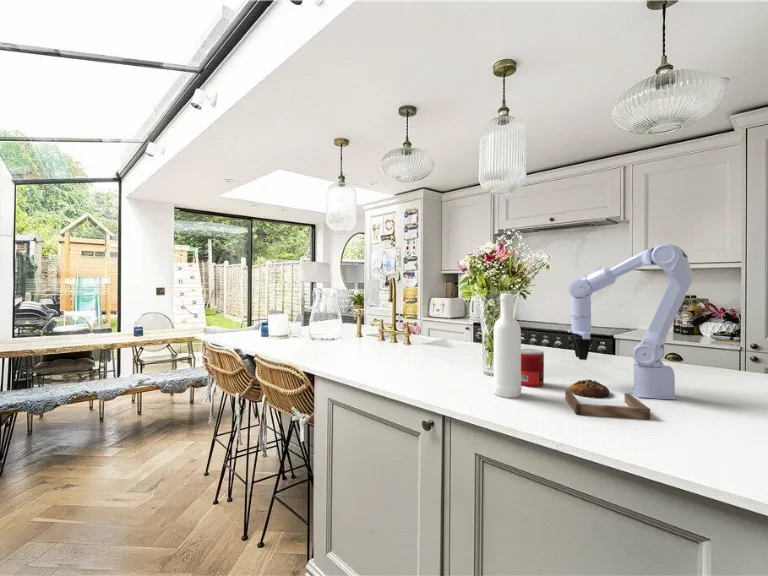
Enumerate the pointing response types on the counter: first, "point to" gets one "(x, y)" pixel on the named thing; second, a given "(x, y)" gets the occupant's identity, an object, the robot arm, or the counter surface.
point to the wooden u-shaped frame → (610, 408)
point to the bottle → (507, 351)
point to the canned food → (532, 367)
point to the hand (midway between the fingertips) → (581, 358)
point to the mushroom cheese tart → (589, 389)
